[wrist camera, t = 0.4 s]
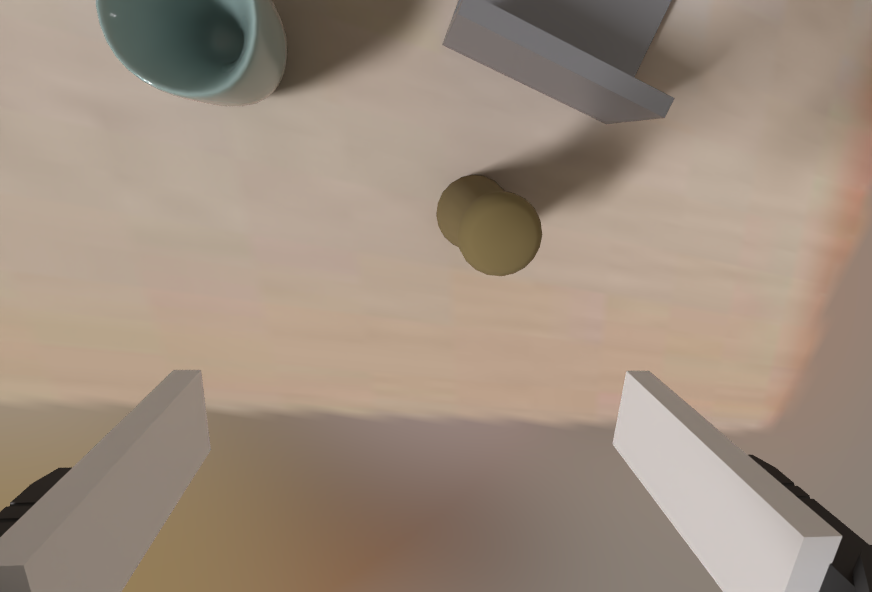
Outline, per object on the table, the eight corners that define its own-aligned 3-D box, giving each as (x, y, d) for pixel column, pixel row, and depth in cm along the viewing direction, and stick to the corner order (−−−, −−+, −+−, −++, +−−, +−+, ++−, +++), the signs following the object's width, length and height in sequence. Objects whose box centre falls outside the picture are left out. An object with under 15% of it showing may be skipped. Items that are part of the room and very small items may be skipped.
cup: (307, 8, 31) (269, -53, 22) (289, 124, 33) (249, 116, 24) (188, -29, 30) (93, -110, 20) (178, 95, 32) (88, 73, 23)
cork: (437, 251, 37) (455, 292, 27) (435, 176, 35) (453, 189, 25) (509, 247, 38) (554, 285, 27) (510, 173, 36) (558, 184, 25)
